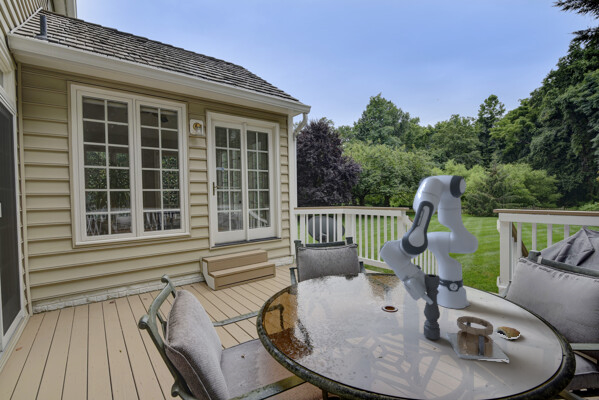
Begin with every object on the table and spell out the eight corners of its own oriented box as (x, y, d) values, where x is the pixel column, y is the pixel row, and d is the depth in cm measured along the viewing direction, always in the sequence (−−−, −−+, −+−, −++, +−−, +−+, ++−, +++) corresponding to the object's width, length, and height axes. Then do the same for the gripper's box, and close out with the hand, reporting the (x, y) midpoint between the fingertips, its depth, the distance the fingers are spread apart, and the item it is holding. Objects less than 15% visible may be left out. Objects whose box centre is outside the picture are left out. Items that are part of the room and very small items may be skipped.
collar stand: (446, 335, 114) (445, 312, 114) (489, 339, 111) (488, 315, 111) (458, 358, 99) (458, 330, 99) (509, 363, 95) (509, 335, 95)
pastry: (509, 330, 118) (509, 322, 118) (526, 338, 112) (526, 329, 111) (493, 334, 115) (493, 325, 115) (509, 342, 109) (509, 333, 109)
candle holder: (434, 331, 117) (435, 273, 116) (443, 339, 110) (443, 278, 110) (420, 331, 116) (421, 274, 116) (428, 339, 110) (428, 278, 109)
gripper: (406, 275, 109) (433, 305, 103) (420, 264, 125) (444, 289, 119) (395, 284, 111) (421, 314, 106) (410, 272, 128) (433, 297, 122)
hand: (433, 301), depth 112 cm, fingers closed on candle holder, 4 cm apart
